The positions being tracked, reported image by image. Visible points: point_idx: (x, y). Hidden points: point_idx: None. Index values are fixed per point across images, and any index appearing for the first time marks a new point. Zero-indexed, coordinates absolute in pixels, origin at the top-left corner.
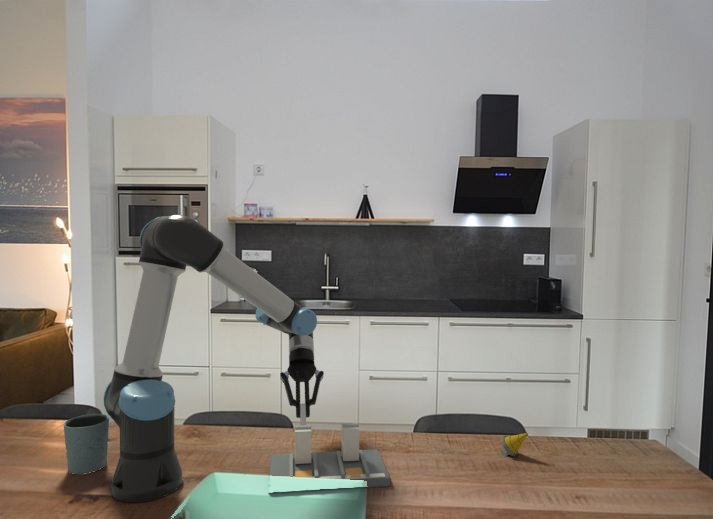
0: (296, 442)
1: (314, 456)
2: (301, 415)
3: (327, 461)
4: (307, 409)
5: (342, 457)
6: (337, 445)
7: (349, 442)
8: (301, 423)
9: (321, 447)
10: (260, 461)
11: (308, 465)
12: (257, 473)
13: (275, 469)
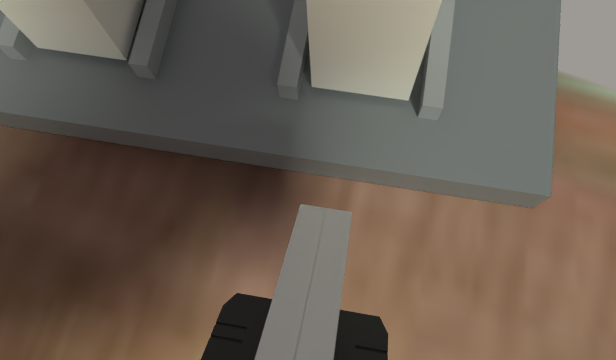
0: None
1: (298, 27)
2: (331, 276)
3: (228, 23)
4: (237, 347)
5: (138, 9)
6: (70, 343)
7: None
8: (341, 226)
9: (182, 342)
10: (599, 242)
11: None
12: (610, 98)
13: (529, 4)
